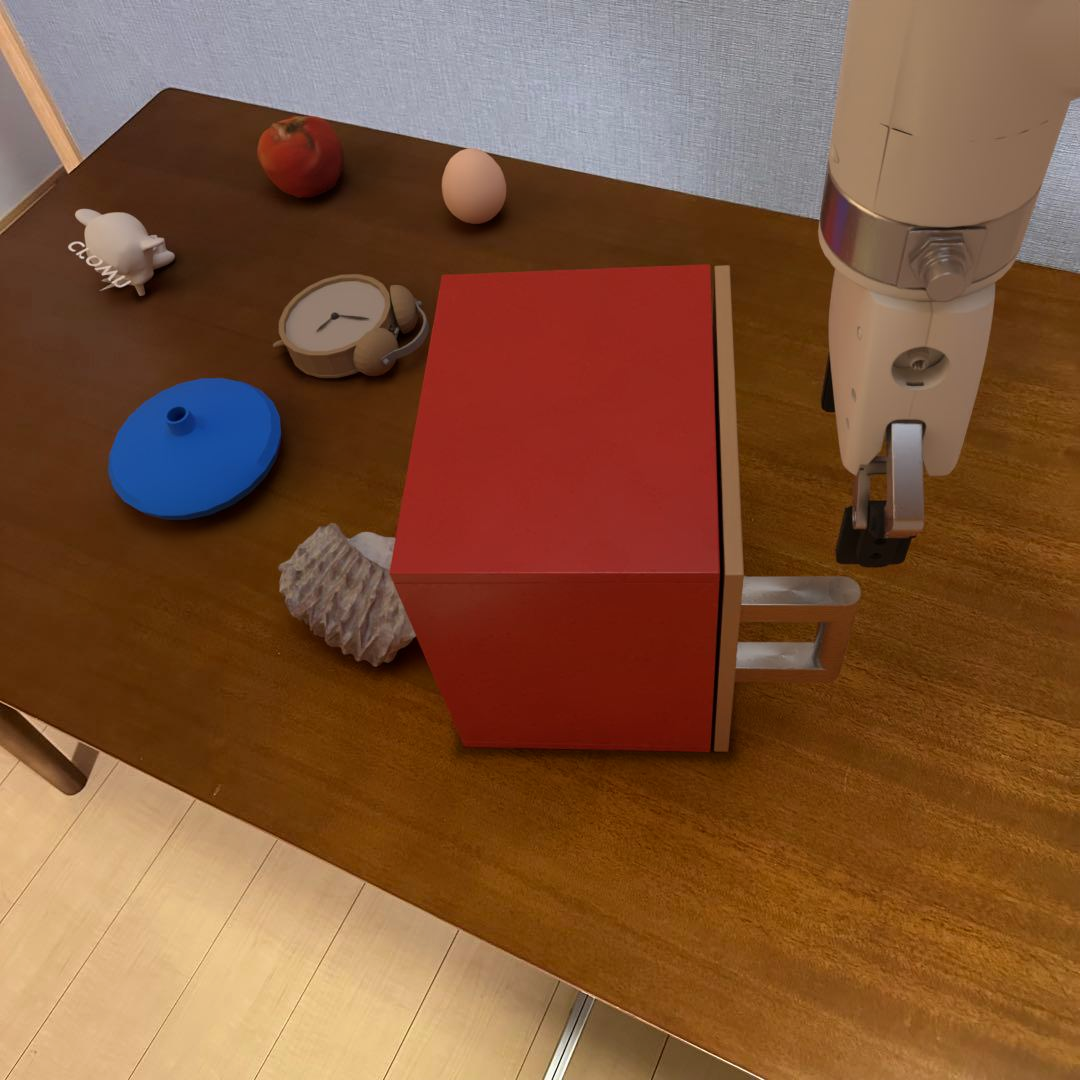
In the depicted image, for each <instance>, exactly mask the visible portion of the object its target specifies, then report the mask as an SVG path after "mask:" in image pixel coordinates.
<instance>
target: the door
mask: <svg viewBox="0 0 1080 1080" xmlns="http://www.w3.org/2000/svg"><path fill="white" fill-rule="evenodd" d="M713 268H714V270H713V295H712V296H713V298H712V299H713V301H712V328H713V361H714V393H715V425H716V458H717V490H718V522H719V555H720V581H719V582H720V584H719V602H718V621H717V640H716V658H715V677H714V696H713V715H712V725H713V751H714V752H723V753H724V752H725V753H726V752H729V749H730V739H731V738H730V737H731V727H732V726H731V725H732V714H733V705H734V704H733V703H734V692H735V691H734V690H735V683H774V684H775V683H778V684H779V683H782V684H784V683H785V684H831V683H833V682H835V681H836V680H837V679H839V677H840V674H841V671H842V667H843V663H844V660H845V656H846V652H847V649H848V645H849V642H850V637H851V634H852V630H853V627H854V622H855V619H856V616H857V612H858V608H859V604H860V600H861V596H862V589H861V586H860V585H859V583H858V582H857V581H856V580H855V579H853V578H852V577H849V576H845V575H816V576H815V575H807V576H806V575H801V576H800V575H799V576H798V575H795V576H794V575H792V576H791V575H788V576H787V575H786V576H784V575H781V576H780V575H775V576H774V575H768V576H767V575H760V576H759V575H758V576H757V575H755V576H753V575H752V576H751V575H750V576H749V575H748V576H747V575H746V576H745V567H744V545H743V544H744V543H743V523H742V522H743V521H742V520H743V519H742V502H741V501H742V499H741V479H740V461H739V460H740V458H739V456H740V455H739V437H738V415H737V414H738V413H737V393H736V391H737V390H736V371H735V368H736V367H735V348H734V328H733V327H734V326H733V307H732V305H733V304H732V283H731V282H732V281H731V265H729V264H728V265H727V264H726V265H714V267H713ZM740 623H817V627H816V631H815V635H814V641H739V635H740V634H739V633H740V625H741V624H740Z"/></svg>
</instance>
